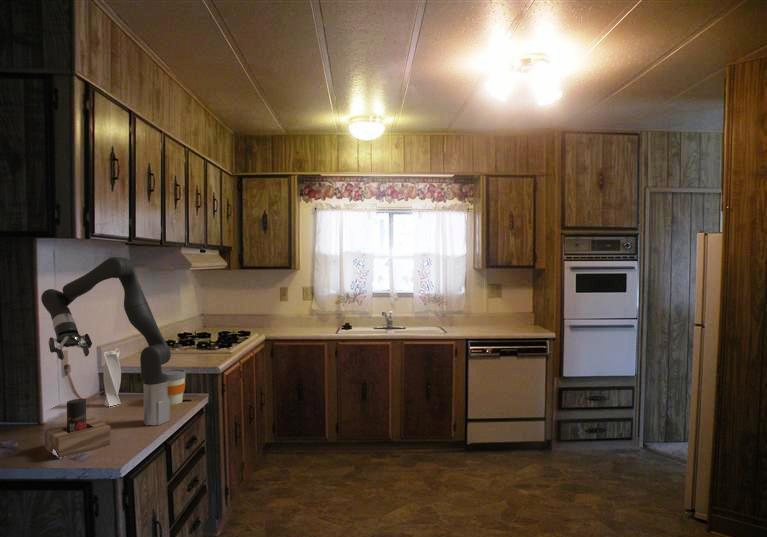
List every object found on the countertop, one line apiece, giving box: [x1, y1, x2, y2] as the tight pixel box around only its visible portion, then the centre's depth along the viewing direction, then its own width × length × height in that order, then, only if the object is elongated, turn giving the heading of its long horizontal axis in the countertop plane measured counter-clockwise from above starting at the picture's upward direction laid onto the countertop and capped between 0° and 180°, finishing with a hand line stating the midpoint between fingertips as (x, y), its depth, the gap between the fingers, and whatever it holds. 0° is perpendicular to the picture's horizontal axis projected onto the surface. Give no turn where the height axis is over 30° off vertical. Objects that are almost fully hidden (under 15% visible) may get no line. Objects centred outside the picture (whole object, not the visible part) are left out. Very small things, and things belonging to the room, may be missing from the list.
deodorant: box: [66, 398, 87, 433], centre depth 164 cm, size 6×6×15 cm
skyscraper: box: [102, 347, 122, 408], centre depth 216 cm, size 8×8×28 cm
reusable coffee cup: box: [162, 369, 187, 406], centre depth 219 cm, size 13×12×15 cm
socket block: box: [44, 417, 111, 458], centre depth 164 cm, size 16×16×7 cm
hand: (74, 356), depth 179 cm, fingers open, 8 cm apart
